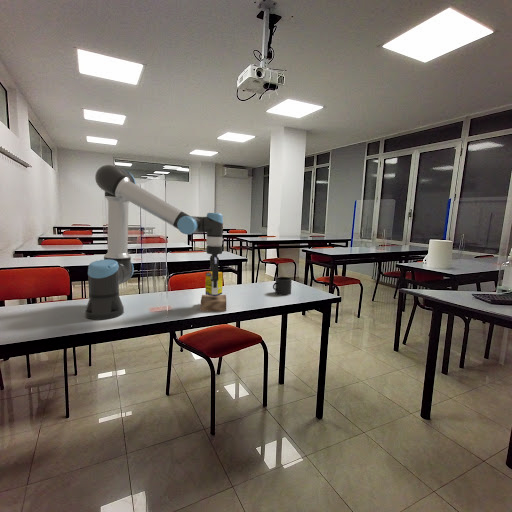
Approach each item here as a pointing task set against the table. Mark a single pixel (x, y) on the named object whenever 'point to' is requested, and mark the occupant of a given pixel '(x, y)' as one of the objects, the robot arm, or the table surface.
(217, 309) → the walnut block
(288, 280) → the mug
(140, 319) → the table surface
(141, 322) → the table surface
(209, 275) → the supplement box
